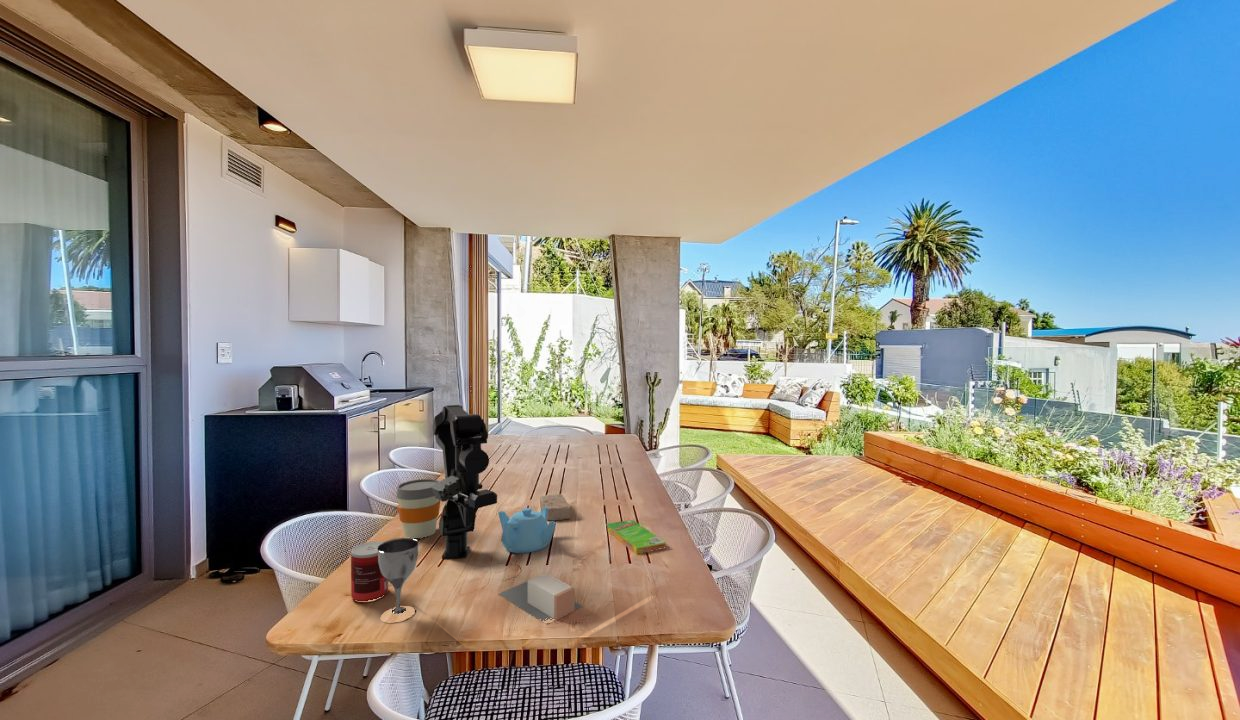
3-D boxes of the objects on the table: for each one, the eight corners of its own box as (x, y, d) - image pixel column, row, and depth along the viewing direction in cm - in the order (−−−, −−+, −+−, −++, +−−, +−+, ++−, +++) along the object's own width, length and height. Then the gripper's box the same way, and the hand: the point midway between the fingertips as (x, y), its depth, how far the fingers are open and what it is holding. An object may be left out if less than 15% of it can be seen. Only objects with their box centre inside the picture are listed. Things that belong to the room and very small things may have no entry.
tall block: (527, 580, 109) (556, 596, 102) (545, 573, 113) (574, 588, 106) (527, 602, 109) (556, 620, 102) (545, 594, 113) (574, 610, 106)
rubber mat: (497, 596, 113) (497, 593, 113) (533, 581, 120) (533, 579, 120) (547, 627, 101) (547, 624, 100) (583, 609, 108) (583, 606, 108)
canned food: (378, 583, 118) (378, 538, 118) (394, 594, 113) (394, 547, 113) (345, 595, 112) (344, 548, 112) (360, 607, 107) (360, 558, 107)
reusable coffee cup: (450, 527, 154) (449, 480, 153) (423, 543, 142) (422, 492, 141) (416, 523, 157) (415, 477, 157) (387, 538, 145) (386, 488, 145)
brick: (538, 506, 176) (539, 494, 176) (561, 504, 179) (562, 492, 179) (546, 523, 161) (546, 509, 160) (571, 520, 163) (571, 506, 163)
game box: (636, 558, 136) (604, 530, 155) (665, 552, 141) (631, 525, 159) (636, 547, 136) (605, 520, 154) (666, 542, 141) (632, 516, 159)
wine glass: (423, 604, 109) (423, 537, 109) (409, 624, 101) (409, 552, 101) (387, 604, 109) (387, 537, 108) (370, 624, 101) (370, 552, 100)
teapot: (497, 538, 147) (497, 502, 146) (547, 532, 151) (547, 498, 151) (501, 559, 132) (501, 520, 132) (556, 553, 137) (556, 515, 136)
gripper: (418, 463, 124) (419, 524, 124) (456, 477, 111) (456, 546, 112) (459, 456, 132) (459, 514, 132) (498, 469, 119) (498, 532, 120)
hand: (467, 526), depth 124 cm, fingers closed
